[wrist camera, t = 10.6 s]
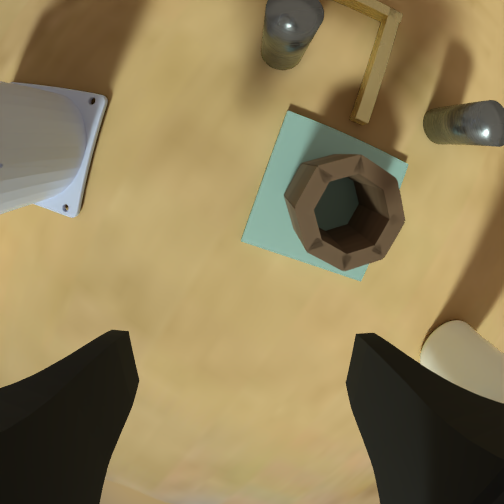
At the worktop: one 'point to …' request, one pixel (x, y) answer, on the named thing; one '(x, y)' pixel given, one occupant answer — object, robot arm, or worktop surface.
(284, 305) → the worktop surface
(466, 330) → the drinking glass
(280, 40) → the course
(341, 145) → the pad
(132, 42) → the worktop surface
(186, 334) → the worktop surface
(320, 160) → the octagonal hollow tube
